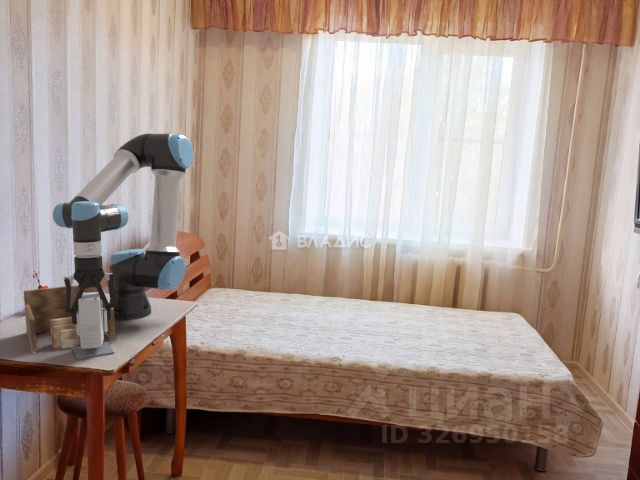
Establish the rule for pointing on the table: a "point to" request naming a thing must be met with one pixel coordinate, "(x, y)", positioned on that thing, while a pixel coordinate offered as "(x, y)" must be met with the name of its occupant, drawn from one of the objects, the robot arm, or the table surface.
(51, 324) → the offcut bundle
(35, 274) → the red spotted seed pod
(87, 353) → the grey rubber mat
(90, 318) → the skincare box
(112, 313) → the walnut rack
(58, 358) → the table surface
